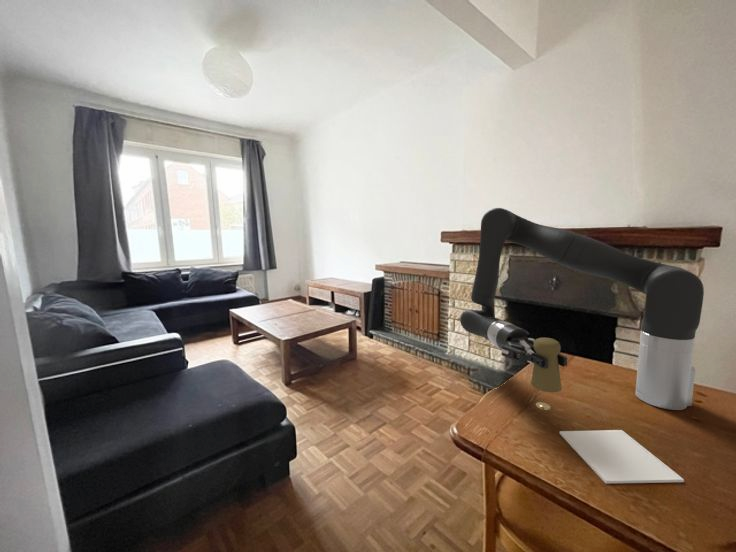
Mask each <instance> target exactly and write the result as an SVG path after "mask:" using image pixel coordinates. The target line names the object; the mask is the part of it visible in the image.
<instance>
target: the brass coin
mask: <svg viewBox="0 0 736 552" xmlns="http://www.w3.org/2000/svg"><path fill="white" fill-rule="evenodd" d="M535 406H536V407H537V408H539V409H540V410H545V411H548V410H549V411H550V410H551V408H552V407H551V405H550V404H548V403H546V402H543V401H538V402H536V403H535Z"/></svg>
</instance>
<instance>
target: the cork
mask: <svg viewBox="0 0 736 552" xmlns="http://www.w3.org/2000/svg"><path fill="white" fill-rule="evenodd" d="M561 347H562V346H561V344H560V342H559V341H558V340H556V339H554V338H551V337H539V338H536V339H535V342H534V349H535V351H536V353H537V354H538V355H540V356H542V357H544V358H546V359H547V360H548V369H543V368H541V367H539V366H537V365H536V364H534V363H533V364H534V365H533V369H532V376H531V381H530V385H531V386H532V387H533V388H534V389H536V390H537V391H541V392H545V393H558V392H561V391H562V381H561V371H560V365H559V363H558V354H559V353H560V354H561Z"/></svg>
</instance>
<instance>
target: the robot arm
mask: <svg viewBox="0 0 736 552" xmlns="http://www.w3.org/2000/svg"><path fill="white" fill-rule="evenodd" d="M479 237H480V243H479V255H478V259H477V261H478V262H477V267H476V272H475V277H474V281H473V285H472V290H471V296H470V300H471V301H472V302H473V303H475V304H477V305H480V306H481V310H480V309H479V310H478V309H466V310H464V311H463V312H462V313H461V316H460V317H459V318H460V320H459V321H460V325H461V327H462V328H463V330H464V331H466V332H468V333H470V334H473V335H476V336H478V337H482V338H484V339H485V340H487V341H489V342H491V344H492V345H494V346H495V347H497V348H498V349H500V350H501V356H502V357H505V358H508V359H511V360H513V361H515V362H518V363H521V364H523V363H526V362H527V363H530V364H536V365H537V366H539V367H541V368H543V369H548V360H547V359H546V358H544V357H542V356H540V355H538V354H537V353H536V351H535V349H534V342H535V340H536V339H535V338H532V336H531V335H530V333H529V331H527V330H525V329H523V328H522V327H519V326H517V325H515V324H513V323H511V322H508V321H504V320H502V319H500V318H497V317H496V312H495V298H496V294H497V289H498V286H499V285H498V283H499V278H500V262H501V257H502V256H501V255H502V251H503V248H504V244H505V243H506V242H509V243H514V244H517V245H520V246H523V247H526V248H528V249H530V250H532V251H533V252H535V253H536V254H538V255H540V256H542V257H544V258H546V259H547V260H549V261H551V262H554V263H556V264H558V265H561V266H564V267H566V268H568V269H570V270H574V271H577V272H580V273H584V274H587V275H591V276H595V277H599V278H605V279H609V280H613V281H615V282H618V283H621V284H624V285H625V286H627V287H630V288H632V289H634V290H637V291H639V292H641V293H642V294H644V295H645V303H644V305H645V306H644V314H643V317H642V320H641V326H640V337H639V347H638V348H639V349H638V359H637V371H636V381H635V382H636V383H635V396H636V397H637V398H638V399H639V400H640V401H643V402H644V403H646V404H648V405H651V406H654V407H656V408H661V409H666V410H670V411H671V410H672V411H683V410H685V409H687V407H691V406H692V403H693V395H694V394H693V393H694V385H695V376H696V368H695V367H693V366H692V364H693V357H694V356H693V355H694V346H695V338H696V333H697V330H698V328H699V325H700V323H701V316H702V312H703V310H702V309H703V303H704V295H705V294H704V293H705V290H704V284H703V282H702V280H701V279H700V278H699V276H697V275H696V274H695V273H693V272H691V271H689V270H687V269H685V268H682V267H679V266H675V265H669V264H664V263H661V262H656V261H652V260H649V259H645V258H642V257H641V258H640V257H637V256H634V255H632V254H629V253H626V252H624V251H622V250H621V249H618V248H616V247H614V246H611V245H610V244H607V243H605V242H603V241H600V240H597V239H595V238H592V237H589V236H587V235H583V234H580V233H577V232H574V231H571V230H566V229H562V228H557V227H555V226H554V227H553V226H548V225H543V224H539V223H536V222H534V221H531V220H528V219H527V218H524V217H522V216H519V215H518V214H516V213H514V212H512V211H510V210H508V209H505V208H502V207H494V208H491V209H489V210H488V211H486V212H485V213H484V215H483V216H482V219H481V221H480V236H479ZM558 363H559V366H561V367H568V357H567V356H565V355H563V354H561V352H560V353H559V354H558Z"/></svg>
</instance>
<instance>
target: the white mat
mask: <svg viewBox="0 0 736 552" xmlns="http://www.w3.org/2000/svg"><path fill="white" fill-rule="evenodd" d="M559 435H560V436H561V437H562V438H563V439H564V440H565V441H566V442H567V443H568V444H569V445H570V447H571V448H572V449H573V450H574V451H575V453H577V455H578V456H579V457H580V458H581V459H583V461H584V462H585V463H586V464H587V465H588V466H589V467H590V468H591V469H592V470H593V472H594V473H595V474H596V475H597V476H598V477H599V478H600V479H601V481H603V483H604V484H648V483H650V484H651V483H655V484H656V483H662V484H663V483H684V482H685V479H684V478H682V476H681V475H679V474H678V473H677V472H676V471H674V470H673V469H672V468H670V467H669V466H668V465H666V464H665V463H664V462H663V461H662V460H660V459H659V458H658V457H657V456H655V455H654V454H653V453H651V452H650V451H649V450H647V449H646V448H645V447H644V446H643V445H642V444H640V443H639V442H637V441H636V440H635V439H634V438H633V437H631V436H630V435H629V434H627V433H626V432H625V431H623V430H622V429H607V430H604V429H603V430H601V429H599V430H559Z"/></svg>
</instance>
